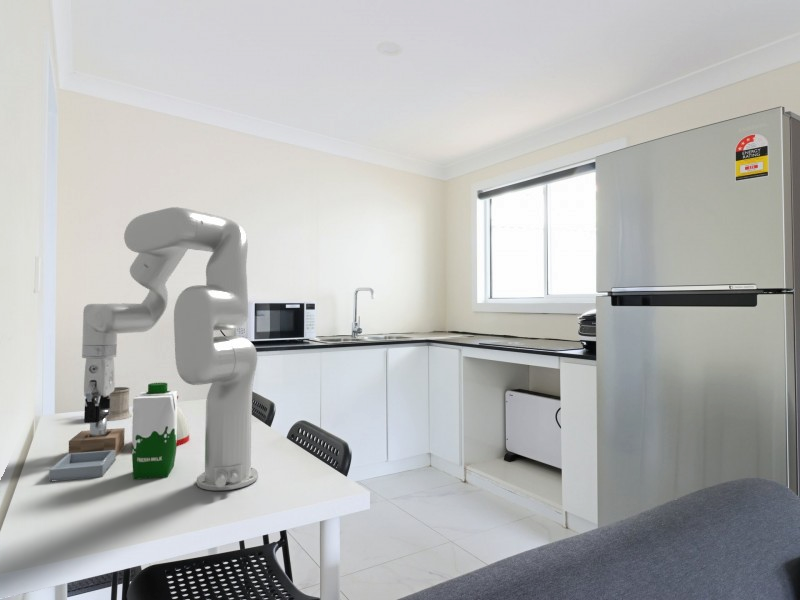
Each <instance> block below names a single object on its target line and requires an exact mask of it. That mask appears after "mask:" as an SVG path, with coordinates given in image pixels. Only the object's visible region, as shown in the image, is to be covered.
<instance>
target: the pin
mask: <svg viewBox="0 0 800 600" xmlns="http://www.w3.org/2000/svg"><path fill="white" fill-rule="evenodd" d="M109 414H110V409H109V408H100V421H99V422H97V423H89V430H90V437H100V436H106V429H107V427H108V426H107V425H108V424H107V422H108V421H107V415H109Z"/></svg>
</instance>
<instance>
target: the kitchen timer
mask: <svg viewBox="0 0 800 600" xmlns="http://www.w3.org/2000/svg"><path fill="white" fill-rule="evenodd" d="M178 399H179V395H177V400H178ZM189 441H190V429H189V426H188V422H187V419H186V416H185V414H184V413H183V411H182V409H181V408H180V407H179V406H178V405H177V447H179V446H182V445H184V444H186V443H188V442H189Z"/></svg>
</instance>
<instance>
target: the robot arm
mask: <svg viewBox="0 0 800 600" xmlns="http://www.w3.org/2000/svg"><path fill="white" fill-rule="evenodd" d="M123 234H124V235H123V240H124V243H125V246H126V247H127V248H128V249H129V250H130V251H131V252H134V253H138V254H137V256H136V257H135V258H134V260H133V262H132V263H131V265H130V267H129V274H130V276H131V277H132V279H133V280H134V281H135V282H136V283H138V284H139V285H141V286H142V287H144V288H145V289H147V290H148V293H147V295H146V297H144V299H143V301H142V302H141V303H127V302H126V303H124V302H123V303H89V304H86V305H85V306H84V308H83V311H82V313H83V315H82V316H83V317H82V318H83V319H82V321H83V322H82V344H81V345H82V347H81V350H82V351H81V358H82V359H85V366H84V377H83V396H84V397H85V398H84V401H85V402H84V414H83V415H84V416H83V417H84V419H83V423H84V424H90V423H97V422H99V421H100V408H109V409H110V394H111V393H112V392H113V391H114V389H115V387H116V386H115V359H114V358H116V357H117V352H118V351H117V348H118V343H117V342H118V334H132V333H144V332H148V331H150V330H152V329H153V328H154V327H155V326H156V325H157V323H158V322H159V321H160V319H161V318H162V316H163V315H164V313H165V311H166V310H167V306H168V301H169V300H168V299H169V297H168V296H169V295H168V290H167V289H168V288H167V286H166V284H167V282H168V280H169V278H170V277H171V276H172V274H173V273H174V271H175V270H176V268H177V267H178V265H179V264H180V263H181V261H182V259H183V258H184V256H185V255H186V254H187V251H188V250H194V251H203V252H209V253H210V252H211V253H212V254H211V255H210V257H209V259H208V261H207V263H206V268H205V277H206V278H205V279H206V280H205V281H206V283H205V285H204V284H203V285H200V284H199V285H198V284H197V285H190V286H188V287H186V288H184V290H182V291H181V293H179V295H178V296H177V299H176V302H175V305H174V309H173V327H174V328H173V332H174V353H175V354H174V358H175V366H176V367H175V368H176V370H177V373H178V375H179V377H180V379H181V380H182V381H183V382H184V383H186V384H188V385H191V386H202V385H208V384H211V385H210V387H209V389H208V392H207V395H206V401H205V428H204V429H205V430H204V431H205V433H204V434H205V435H204V436H205V437H204V439H205V440H204V447H205V448H204V472H202V473H200V474H199V475H198V476H197V477H196V485H197V487H199V488H200V489H203V490H207V491H217V492H218V491H232V490H237V489H239V488H240V489H241V488H244V487H247V486H250V485H251V484H254V482H256V481H257V480H258V478H259V471H258V470H257V469H255V468H254V467H252V421H253V419H252V418H253V417H252V414H253V412H252V411H253V409H252V408H253V406H252V405H253V389H254V388H253V386H254V378H255V375H256V369H257V363H258V352H257V349H256V347H255V345H254V344H253V343H252V342H251V341H250V340H249V339H248V338H247V337H246V338H245V337H243V336H239V335H227V336H226V335H225V336H214V331H228V330H235V329H239V328H241V327H242V326H244V325H245V323H246V322H247V319H248V318H249V299H248V297H249V295H248V294H249V293H248V277H247V276H248V275H247V258H248V245H249V244H248V238H247V235H246V232H245V230H244V229H243V227H242V226H241V225H240V224H239V223H237V222H235V221H234V220H231V219H228V218H226V217H223V216H219V215H215V214H211V213H208V212H201V211H197V210H193V209H189V208H183V207H178V206H176V207H175V206H174V207H167V208H163V209H159V210H155V211H151V212H147V213H143V214H139V215H138V216H135V217H134V218H133V219H132V220H131V221H129V223H128V224H127V226H126V228H125V230H124V233H123Z"/></svg>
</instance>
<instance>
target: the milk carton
mask: <svg viewBox="0 0 800 600" xmlns="http://www.w3.org/2000/svg"><path fill="white" fill-rule="evenodd" d="M177 396H178V391H177V390H168V382H151V383H148V386H147V391H141V392H140V393H138V394H136V396H135V397H133V398H132V426H131V428H132V431H131V434H132V435H131V437H132V438H131V440H132V441H131V458H132V459H131V461H132V479H133V481H134V480H144V479H145V480H146V479H157V478H168V477H169V476H170V474H171V472H172V470H173V469H174V467H175V461H176V453H177V448H178V446H177V406H178V399H177Z"/></svg>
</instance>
